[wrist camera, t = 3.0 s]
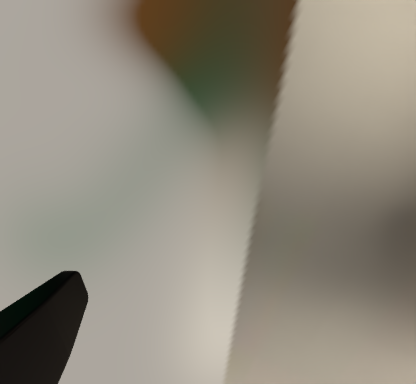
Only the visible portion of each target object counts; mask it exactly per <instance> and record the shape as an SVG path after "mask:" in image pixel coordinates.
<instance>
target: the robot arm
mask: <svg viewBox="0 0 416 384" xmlns="http://www.w3.org/2000/svg"><path fill="white" fill-rule="evenodd" d="M87 302H88V293H87V290H86V288H85V285H84V283H83V280H82V277H81V275H80V273H79V272H77V271H63V272H61V273H59V274H58V275H56V276H54V277H53V278H52V279H50V280H48V281H47V282H45V283H44V284H42V285H41V286H39V287H38V288H36V289H34V290H33V291H31V292H30V293H28V294H27V295H25V296H24V297H22V298H20V299H19V300H17V301H16V302H14V303H13V304H11V305H10V306H8V307H7V308H5V309H4V310H2V311H0V384H58V382H59V380H60V378H61V375H62V373H63V371H64V369H65V366H66V364H67V361H68V359H69V357H70V354H71V351H72V348H73V346H74V342H75V339H76V336H77V333H78V330H79V327H80V324H81V321H82V318H83V315H84V312H85V308H86V305H87Z"/></svg>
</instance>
